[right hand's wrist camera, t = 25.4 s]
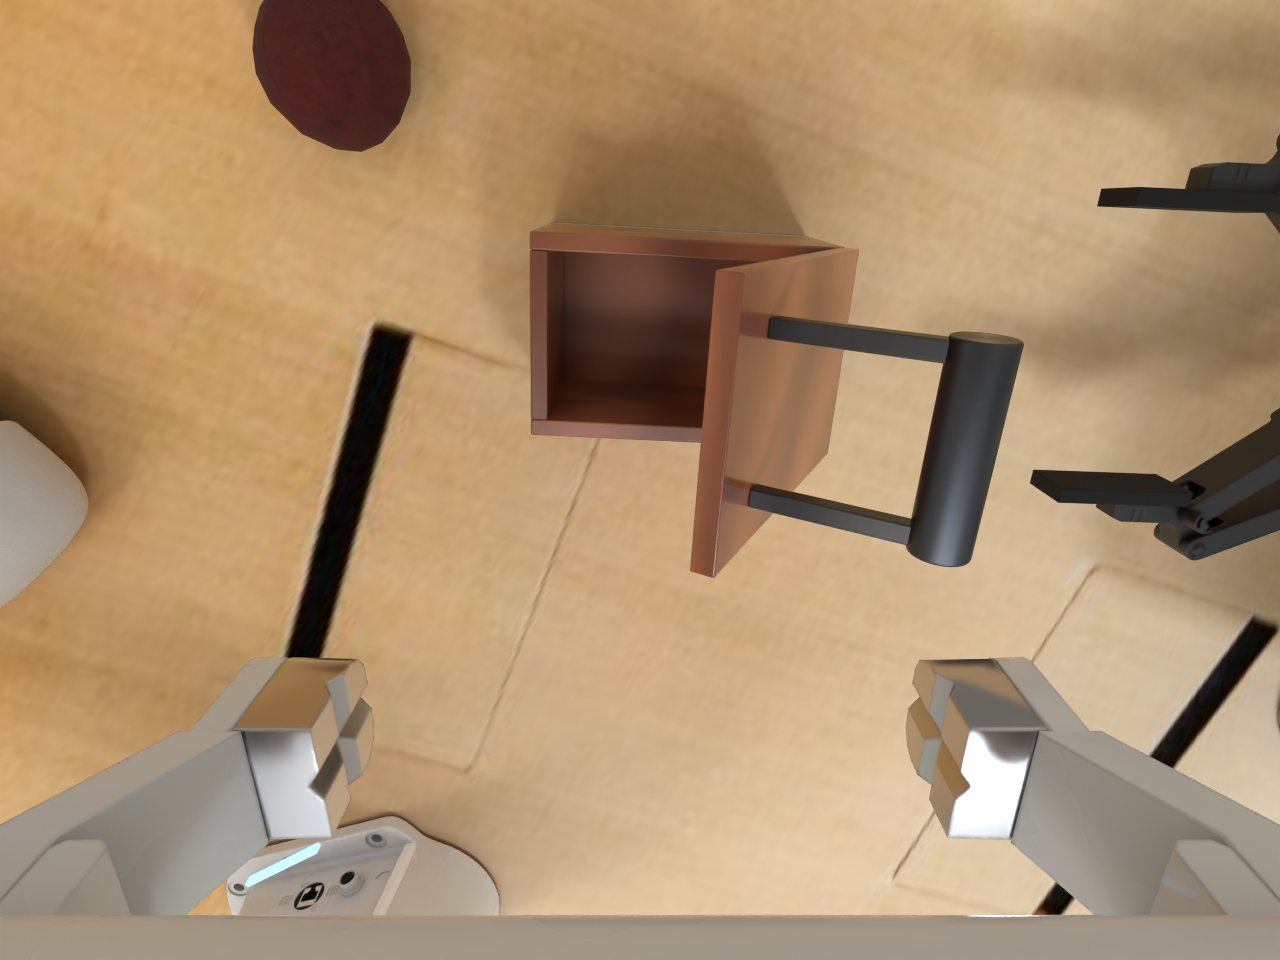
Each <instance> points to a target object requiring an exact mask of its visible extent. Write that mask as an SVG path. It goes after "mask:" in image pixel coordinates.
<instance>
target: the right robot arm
mask: <svg viewBox="0 0 1280 960" xmlns="http://www.w3.org/2000/svg"><path fill="white" fill-rule="evenodd" d="M366 685H367V678H366V674H365V669H364V664H363V663H361V662H360V661H359V660H358V659H333V658H255V659H252V660H250V661H248V662H247V663H246V665H245V666H244V667H243V668H242V669H241V671H240V672H239V673H238V674H237V675H236V677H235V678H234V679H233V680H232V681H231V683H230V684H229V685H228V686H227V687H226V689H225V690H224V691H223V692H222V693H221V695H220V696H219V697H218V698H217V699H216V701H215V702H214V703H213V704H212V705H211V706H210V708H209V709H208V710H207V711H206V712H205V714H204V715H203V716H202V717H201V718H200V720H199V721H198V722H197V723H196V724H195V726H194V727H193V728H192V729H191V730H190V731H178V732H176V733H174V734H172V735H170V736H169V737H167V738H165V739H163V740H161V741H159V742H157V743H155V744H153V745H151V746H149V747H148V748H146V749H144V750H142V751H140V752H138V753H136V754H134V755H132V756H130V757H128V758H127V759H125V760H123V761H121V762H119V763H117V764H115V765H113V766H111V767H109V768H107V769H106V770H104V771H102V772H100V773H98V774H96V775H94V776H92V777H90V778H88V779H86V780H85V781H83V782H81V783H79V784H77V785H75V786H73V787H71V788H69V789H67V790H65V791H64V792H62V793H60V794H58V795H56V796H54V797H52V798H50V799H48V800H46V801H44V802H42V803H41V804H39V805H37V806H35V807H33V808H31V809H29V810H27V811H25V812H23V813H21V814H20V815H18V816H16V817H14V818H12V819H10V820H8V821H6V822H4V823H2V824H0V960H1280V825H1279V824H1277V823H1275V822H1273V821H1271V820H1269V819H1268V818H1266V817H1264V816H1262V815H1260V814H1258V813H1256V812H1254V811H1252V810H1250V809H1249V808H1247V807H1245V806H1243V805H1241V804H1239V803H1237V802H1235V801H1233V800H1231V799H1229V798H1228V797H1226V796H1224V795H1222V794H1220V793H1218V792H1216V791H1214V790H1212V789H1210V788H1209V787H1207V786H1205V785H1203V784H1201V783H1199V782H1197V781H1195V780H1193V779H1191V778H1189V777H1188V776H1186V775H1184V774H1182V773H1180V772H1178V771H1176V770H1174V769H1172V768H1170V767H1169V766H1167V765H1165V764H1163V763H1161V762H1159V761H1157V760H1155V759H1153V758H1151V757H1150V756H1148V755H1146V754H1144V753H1142V752H1140V751H1138V750H1136V749H1134V748H1132V747H1130V746H1129V745H1127V744H1125V743H1123V742H1121V741H1119V740H1117V739H1115V738H1113V737H1111V736H1110V735H1108V734H1106V733H1104V732H1102V731H1090V730H1089V729H1088V728H1087V727H1086V726H1085V724H1084V723H1083V722H1082V721H1081V720H1080V718H1079V717H1078V716H1077V715H1076V714H1075V713H1074V711H1073V710H1072V709H1071V708H1070V707H1069V705H1068V704H1067V703H1066V702H1065V701H1064V699H1063V698H1062V697H1061V696H1060V695H1059V693H1058V692H1057V691H1056V690H1055V689H1054V687H1053V686H1052V685H1051V684H1050V683H1049V682H1048V680H1047V679H1046V678H1045V677H1044V676H1043V674H1042V673H1041V672H1040V671H1039V670H1038V668H1037V667H1036V666H1035V665H1034V664H1033V662H1032V661H1030V660H1028V659H1026V658H1024V657H1009V658H988V659H948V660H919V662H918V664H917V666H916V668H915V672H914V678H913V685H914V687H915V689H916V691H917V693H918V694H919V696H920V697H919V698H918V699H917V700H916V701H915V702H914V703H913V704H912V705H911V706H910V707H909V708H908V714H907V722H906V736H907V747H908V751H909V754H910V758H911V761H912V764H913V766H914V768H915V770H916V772H917V775H919V776H920V777H921V778H923V779H924V780H925V781H927V782H928V783H930V784H931V785H932V786H931V792H930V797H929V800H930V802H931V804H932V806H933V808H934V810H935V813H936V815H937V817H938V819H939V821H940V823H941V825H942V827H943V829H944V831H945V833H946V835H947V837H948V838H967V839H1002V840H1012V841H1011V843H1012V844H1013V845H1014V846H1015V847H1017V848H1018V849H1019V850H1020V851H1021V852H1022V853H1023V854H1025V855H1026V856H1027V857H1028V858H1029V859H1030V860H1032V861H1033V862H1034V863H1035V864H1036V865H1037V866H1039V867H1040V868H1041V869H1042V870H1043V871H1044V872H1045V873H1047V874H1048V875H1049V876H1050V877H1051V878H1052V879H1054V880H1055V881H1056V882H1057V883H1058V884H1059V885H1061V886H1062V887H1063V888H1064V889H1065V890H1066V891H1067V892H1069V893H1070V894H1071V895H1072V896H1073V897H1074V898H1076V899H1077V900H1078V901H1079V902H1080V903H1081V904H1083V905H1084V906H1085V907H1086V908H1087V909H1088V910H1089V911H1091V912H1092V913H1093V914H1094V915H499V908H500V903H499V896H498V892H497V889H496V887H495V885H494V883H493V881H492V879H491V878H490V876H489V875H488V874H487V872H486V871H485V870H484V869H483V868H482V867H481V866H480V865H479V864H478V863H477V862H476V861H474V860H473V859H472V858H470V857H469V856H467V855H466V854H464V853H463V852H461V851H459V850H457V849H455V848H453V847H451V846H448V845H446V844H443V843H440V842H438V841H435V840H432V839H430V838H428V837H426V836H424V835H423V834H421V833H420V832H419V831H418V830H416V829H415V828H414V827H413V826H411V825H410V824H409V823H407V822H406V821H404V820H402V819H400V818H398V817H394V816H387V817H383V818H379V819H375V820H371V821H367V822H363V823H359V824H355V825H351V826H347V827H343V828H339V829H337V827H338V825H339V823H340V821H341V819H342V817H343V815H344V813H345V810H346V808H347V806H348V804H349V802H350V800H351V797H350V792H349V786H348V785H349V784H350V783H352V782H353V781H355V780H356V779H357V778H359V777H360V776H361V775H363V772H364V770H365V768H366V766H367V763H368V761H369V759H370V754H371V750H372V745H373V740H374V720H373V713H372V708H371V707H370V706H369V705H368V704H367V703H366V702H365V701H364V700H363V699H362V698H361V697H360V696H361V694H362V693H363V691H364V689H365V687H366ZM277 839H295V840H291V841H287V842H283V843H279V844H275V845H271V846H267V847H265V846H266V845H267V844H268V843H269V841H268V840H277ZM226 880H227V897H228V902H229V906H230V909H231V913H232V915H186V914H187V913H188V912H190V911H191V910H192V909H193V908H194V907H195V906H196V905H198V904H199V903H200V902H201V901H202V900H203V899H205V898H206V897H207V896H208V895H209V894H210V893H212V892H213V891H214V890H215V889H216V888H217V887H219V886H220V885H221V884H222V883H223V882H224V881H226Z"/></svg>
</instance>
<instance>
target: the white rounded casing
mask: <svg viewBox="0 0 1280 960" xmlns="http://www.w3.org/2000/svg"><path fill="white" fill-rule="evenodd" d="M88 507H89V501H88V496H87V493H86V490H85V488H84V486H83V485H82V483H81V481H80V480H79V479H78V477H77V476H76V475H75V473H74V472H73V471H72V470H71V469H70V468H69V467H68V466H67V465H66V464H65V463H64V462H63V461H62V460H61V459H60V458H59V457H58V456H57V455H56V454H54V453H53V452H52V451H51V450H50V449H49V448H47V447H46V446H45V445H44V444H43V443H41V442H40V441H39V440H38V439H37V438H35V437H34V436H33V435H32V434H30V433H29V432H28V431H27V430H25V429H24V428H23V427H22V426H20V425H19V424H18V423H16V422H13V421H0V608H1V607H2V606H4V605H5V604H6V603H8V602H9V601H10V600H12V599H13V598H14V597H15V596H17V595H18V594H19V593H20V592H21V591H22V590H24V589H25V588H26V587H27V586H28V585H29V584H30V583H32V582H33V581H34V580H35V579H36V578H37V577H38V576H39V575H40V574H41V573H42V572H43V571H44V570H45V569H46V568H47V567H48V566H49V565H50V564H51V563H52V562H53V561H54V560H55V559H56V558H57V557H58V556H59V555H60V553H61V552H62V551H63V550H64V549H65V548H66V547H67V545H68V544H69V543H70V542H71V541H72V539H73V538H74V537H75V535H76V534H77V532H78V531H79V529H80V528H81V526H82V524H83V522H84V521H85V518H86V515H87V512H88Z"/></svg>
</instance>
